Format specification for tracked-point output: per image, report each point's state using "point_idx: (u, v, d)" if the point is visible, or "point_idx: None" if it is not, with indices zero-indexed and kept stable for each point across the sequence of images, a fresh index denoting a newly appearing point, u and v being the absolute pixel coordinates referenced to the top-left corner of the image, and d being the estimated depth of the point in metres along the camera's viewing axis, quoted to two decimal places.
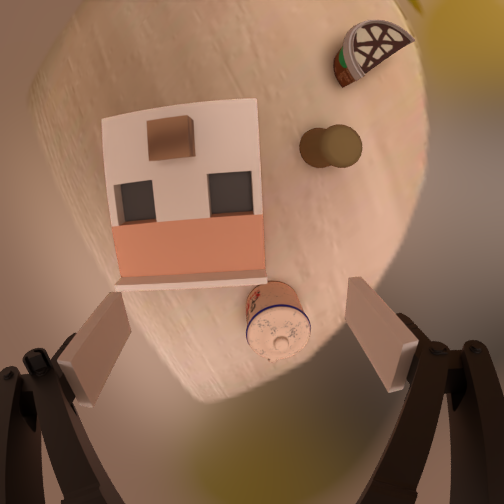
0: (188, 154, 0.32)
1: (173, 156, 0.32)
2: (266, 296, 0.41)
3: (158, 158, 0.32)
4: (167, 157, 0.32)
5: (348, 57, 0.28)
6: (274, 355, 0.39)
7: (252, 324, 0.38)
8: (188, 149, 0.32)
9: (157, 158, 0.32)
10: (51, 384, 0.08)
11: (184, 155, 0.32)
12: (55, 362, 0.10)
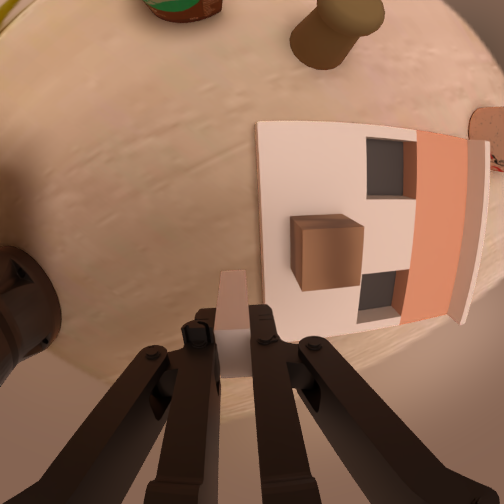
0: (361, 228, 0.21)
1: (360, 250, 0.22)
2: (495, 145, 0.22)
3: (359, 272, 0.23)
4: (360, 259, 0.22)
5: None
6: None
7: None
8: (354, 228, 0.21)
9: (359, 273, 0.23)
10: (204, 360, 0.10)
11: (362, 234, 0.22)
12: None
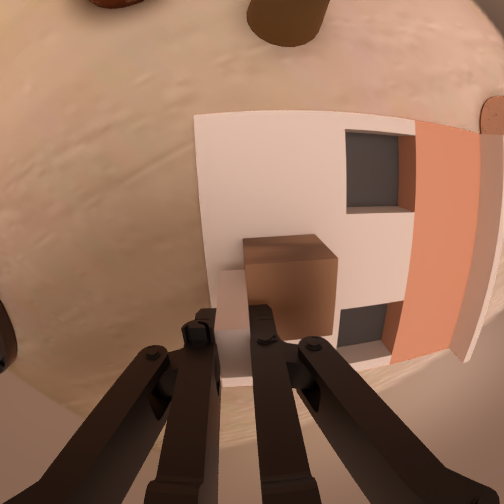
0: (334, 260, 0.15)
1: (333, 290, 0.16)
2: None
3: (331, 318, 0.16)
4: (332, 302, 0.16)
5: None
6: None
7: None
8: (323, 260, 0.15)
9: (330, 320, 0.17)
10: (204, 360, 0.10)
11: (335, 268, 0.15)
12: None
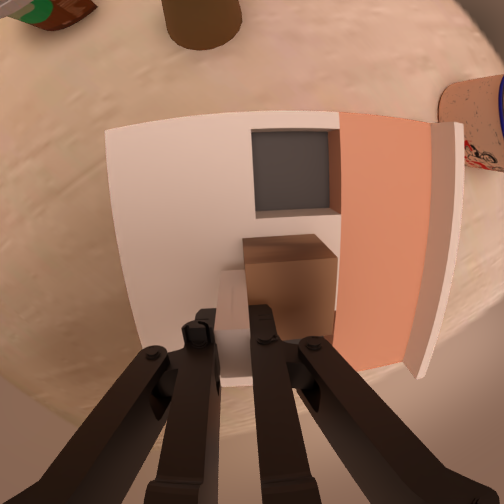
0: (333, 260, 0.15)
1: (332, 290, 0.16)
2: (475, 131, 0.16)
3: (331, 318, 0.16)
4: (332, 301, 0.16)
5: None
6: None
7: None
8: (323, 259, 0.15)
9: (330, 320, 0.17)
10: (204, 360, 0.10)
11: (334, 268, 0.15)
12: None
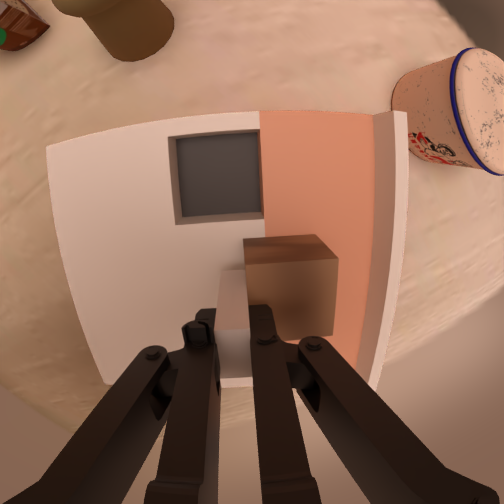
0: (334, 260, 0.15)
1: (333, 290, 0.16)
2: (427, 120, 0.16)
3: (331, 319, 0.16)
4: (333, 302, 0.16)
5: None
6: None
7: (485, 158, 0.13)
8: (323, 260, 0.15)
9: (331, 320, 0.16)
10: (204, 360, 0.10)
11: (335, 269, 0.15)
12: None
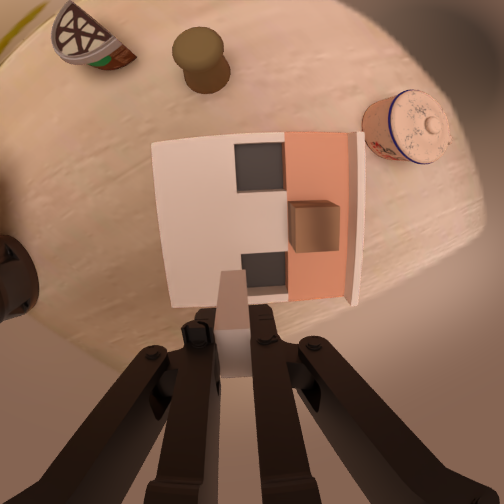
0: (338, 207, 0.30)
1: (338, 224, 0.31)
2: (379, 135, 0.31)
3: (337, 240, 0.32)
4: (338, 230, 0.31)
5: (95, 56, 0.23)
6: (445, 135, 0.26)
7: (409, 155, 0.28)
8: (332, 207, 0.30)
9: (337, 241, 0.32)
10: (204, 360, 0.10)
11: (338, 212, 0.31)
12: None
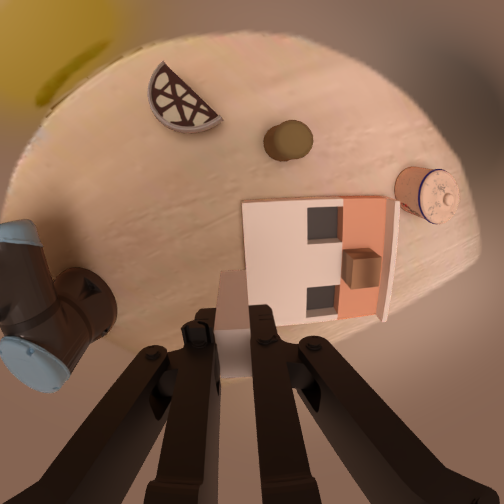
0: (380, 258, 0.42)
1: (379, 268, 0.43)
2: (409, 201, 0.43)
3: (378, 279, 0.44)
4: (379, 273, 0.43)
5: (200, 129, 0.35)
6: (455, 203, 0.38)
7: (430, 219, 0.40)
8: (377, 258, 0.42)
9: (378, 280, 0.44)
10: (204, 360, 0.10)
11: (380, 261, 0.42)
12: None
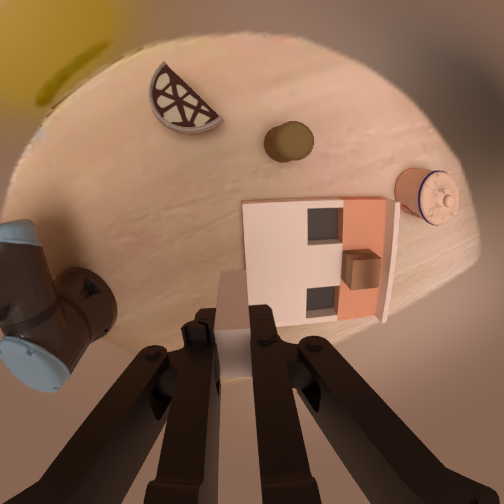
0: (380, 259, 0.42)
1: (379, 269, 0.43)
2: (409, 202, 0.43)
3: (378, 280, 0.44)
4: (379, 274, 0.43)
5: (201, 130, 0.35)
6: (455, 204, 0.39)
7: (430, 221, 0.40)
8: (377, 259, 0.43)
9: (378, 281, 0.44)
10: (204, 360, 0.10)
11: (380, 262, 0.43)
12: None
